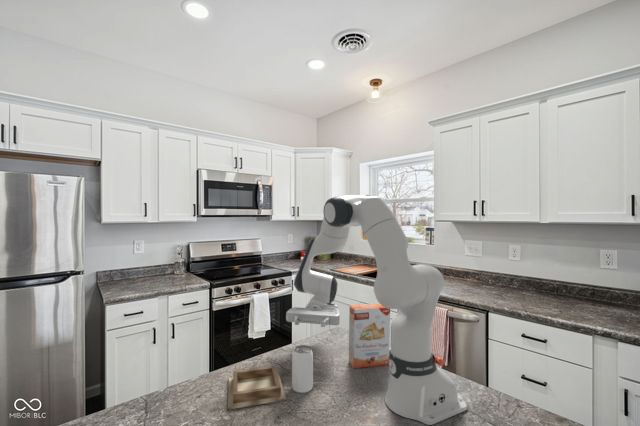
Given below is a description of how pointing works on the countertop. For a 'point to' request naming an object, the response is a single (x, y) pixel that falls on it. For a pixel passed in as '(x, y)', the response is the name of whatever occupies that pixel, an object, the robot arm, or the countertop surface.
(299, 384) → the can
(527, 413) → the countertop surface
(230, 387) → the wooden serving tray
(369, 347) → the cracker box
